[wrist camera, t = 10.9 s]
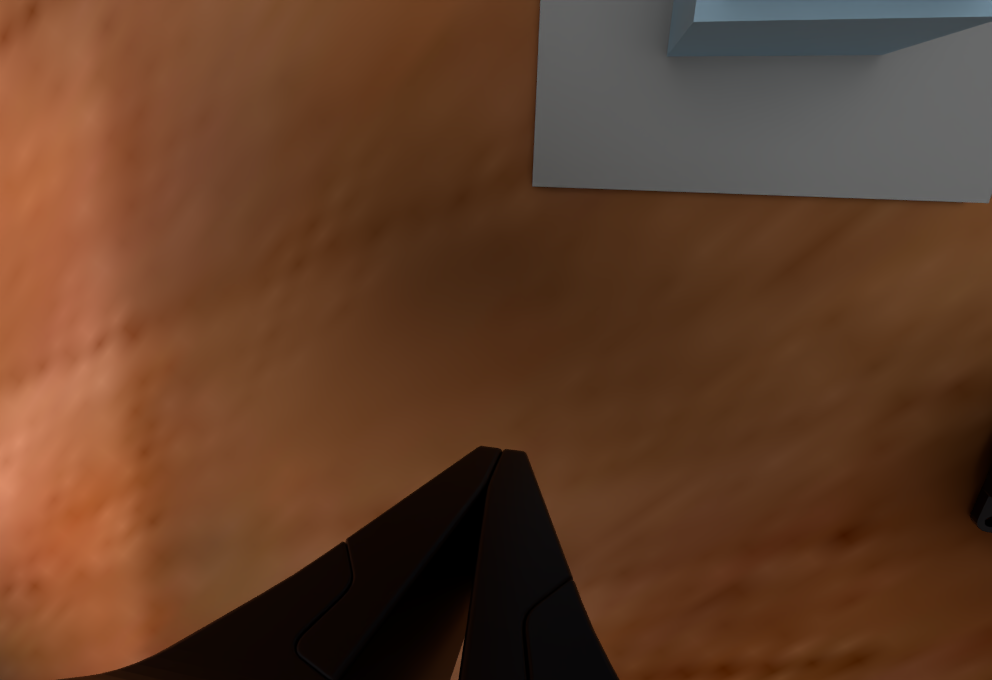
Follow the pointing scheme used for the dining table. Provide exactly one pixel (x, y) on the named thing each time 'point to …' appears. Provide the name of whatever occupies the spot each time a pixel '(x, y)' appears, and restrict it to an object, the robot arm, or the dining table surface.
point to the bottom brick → (815, 25)
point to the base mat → (756, 113)
